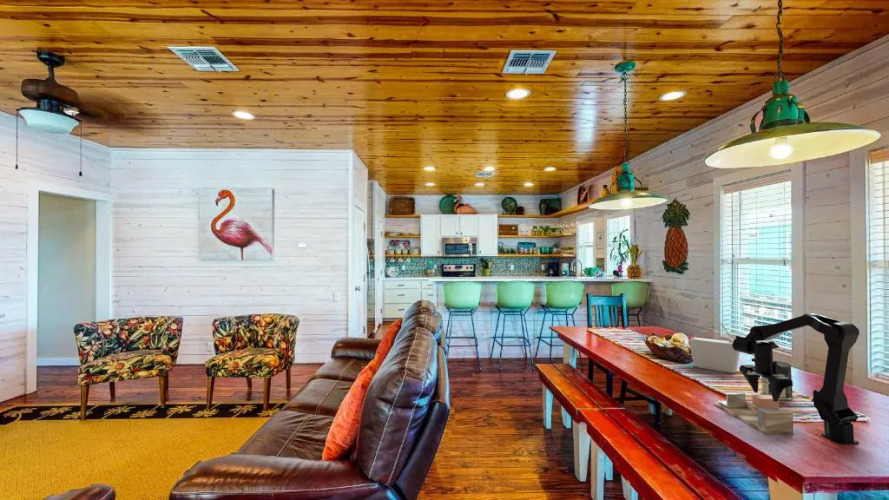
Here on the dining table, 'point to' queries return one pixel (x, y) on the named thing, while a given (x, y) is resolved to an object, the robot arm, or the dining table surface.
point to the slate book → (761, 414)
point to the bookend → (734, 400)
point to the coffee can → (786, 392)
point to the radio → (714, 354)
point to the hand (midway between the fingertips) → (765, 396)
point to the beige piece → (763, 418)
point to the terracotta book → (764, 401)
